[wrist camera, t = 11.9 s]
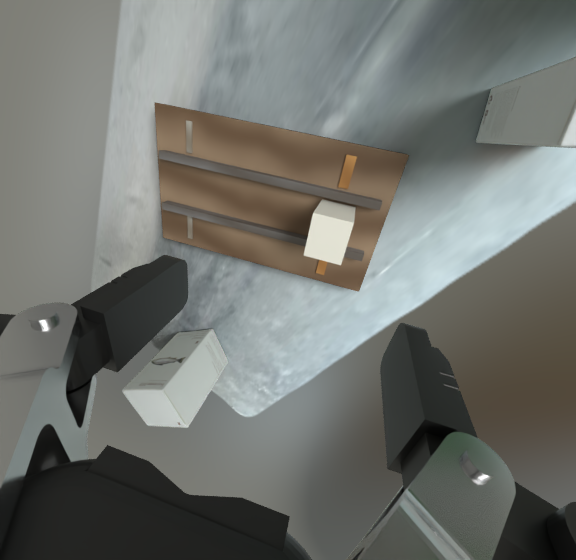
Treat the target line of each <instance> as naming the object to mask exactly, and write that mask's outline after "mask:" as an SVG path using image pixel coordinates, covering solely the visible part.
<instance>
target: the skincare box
mask: <svg viewBox="0 0 576 560" xmlns="http://www.w3.org/2000/svg"><path fill="white" fill-rule="evenodd" d="M476 143H488V144H507V145H526V146H546V147H568V148H576V57H574V58H571V59H569V60H566V61H564V62H561V63H558V64H556V65H553V66H550V67H547V68H545V69H542V70H540V71H537V72H534V73H531V74H529V75H526V76H523V77H520V78H518V79H515V80H512V81H509V82H506V83H504V84H501V85H499V86H496V87H493V88H492V89H491V91H490V95H489V98H488V102H487V105H486V108H485V112H484V115H483V119H482V122H481V125H480V129H479V132H478V135H477V138H476Z"/></svg>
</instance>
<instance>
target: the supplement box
mask: <svg viewBox="0 0 576 560" xmlns="http://www.w3.org/2000/svg"><path fill="white" fill-rule="evenodd" d="M227 363H228V360H227V357H226V355H225V353H224V351H223V349H222V347H221V345H220V343H219V341H218V338H217V336H216V334H215V332H214V330H213V329H208V330H201V331H190V332H178V333H177V334H176V335H175V336H174V337H173V338H172V339H171V340H170V341H169V342H168V343H167V344H166V345H165V346H164V347H163V348H162V349H161V350H160V351H159V353H158V354H157V355H156V356H155V357H154V358H153V359H152V360H151V361H150V362H149V363H148V364H147V365H146V366H145V367H144V368H143V369H142V370H141V371H140V372H139V373H138V374H137V375H136V376H135V378H133V379H132V380H131V381H130V383H129V384H128V385H127V386H126V387H125V388H124V389H123V390H122V391H123V393H124V394H125V396H126V397H127V399H128V400H129V401H130V403H131V404H132V405H133V407H134V408H135V410H136V411H137V412H138V413H139V415H140V416H141V417H142V419H143V420H144V421H145V423H146V424H147V425H148V426H165V427H184V428H188V426H189V425H190V423H191V422H192V420H193V419H194V417H195V415H196V414H197V412H198V410H199V409H200V407H201V406H202V404H203V402H204V401H205V399H206V397H207V396H208V394H209V392H210V391H211V389H212V388H213V386H214V384H215V383H216V381H217V379H218V378H219V376H220V375H221V373H222V371H223V370H224V368H225V366H226V365H227Z"/></svg>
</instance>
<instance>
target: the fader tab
mask: <svg viewBox="0 0 576 560" xmlns="http://www.w3.org/2000/svg"><path fill="white" fill-rule="evenodd" d="M355 209H356V207H353V206H349V205H345V204H341V203H336V202H332V201H328V200H324V199H322V200H321V202H320V203H319V205H318V206H317V208H316V209H315V211H314V212H313V216H312V220H311V225H310V229H309V233H308V238H307V242H306V247H305V251H304V256H308V257H311V258H315V259H319V260H323V261H326V262H330V263H334V264H338V265H341V264H342V260H343V257H344V254H345V251H346V247H347V244H348V241H349V238H350V234H351V231H352V228H353V225H354V219H355Z"/></svg>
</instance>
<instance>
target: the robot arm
mask: <svg viewBox="0 0 576 560" xmlns="http://www.w3.org/2000/svg"><path fill="white" fill-rule="evenodd" d="M187 298H188V274H187V263H186V261H185V260H182V259H178V258H175V257H171V256H168V255H163V256H161V257H159V258H158V259H156V260H155V261H153V262H151V263H150V264H145V265H142V266H138V267H135V268H132V269H131V270H129V271H127V272H126V273H124V274H122V275H121V277H117V278H115V279H114V280H112V281H111V283H107V284H105V285H104V286H102V287H100V288H98V289H97V290H95V291H93V292H92V293H90V294H88V295H87V296H85V297H83V298H82V299H80V300H78V301H76V302H75V303H73V304H71V305H69V304H66V303H46V304H41V305H37V306H34V307H31V308H28V309H26V310H24V311H22V312H20V313H18V314H17V315H8V314H0V560H312V559H311V557H310V556H309V555H308V553H307V552H306V550H305V549H304V548H303V547H302V546H301V545H300V544H299V543H298V542H297V541H296V540H295V539H294V538H293V537H292V536H291V535H290V534H288V533H287V527H288V522H289V516H287V515H284V514H282V513H279V512H277V511H274V510H272V509H269V508H267V507H264V506H261V505H259V504H256V503H254V502H251V501H249V500H246V499H243V498H237V497H236V498H235V497H218V496H198V495H189V494H186V493H184V492H183V491H182V490H181V489H179V488H178V487H177V486H176V485H175V484H174V483H173V482H172V481H170V480H169V479H168V478H167V477H166V476H165V475H164V474H163V473H161V472H160V471H159V470H158V469H157V468H156V467H155V466H153V464H151V463H150V462H149V461H147V460H144V459H141V458H139V457H136V456H134V455H131V454H128V453H126V452H124V451H121V450H118V449H116V448H113V447H111V446H108V445H107V447H106V448H105V449H104V450H103V451H102V452H101V454H100V455H99V456H98V457H97V459H88V450H87V433H88V427H89V422H90V416H91V411H92V405H93V400H94V394H95V389H96V383H97V376H96V373H97V372H98V371H99V370H100V369H101V368H103V367H104V368H106V369H109V370H112V371H115V372H118V371H120V370H121V369H122V368H123V367H124V366H125V365H126V364H127V363H128V362H129V361H130V359H132V358H133V357H134V356H135V355H136V354H137V353H138V352H139V351H140V350H141V349H142V348H143V347H144V346H145V345H146V344H147V343H148V342H149V341H150V340H151V339H152V338H153V337H154V336H155V335H156V334H157V333H158V332H159V331H160V330H162V329H163V328H164V327H165V326H166V325H167V324H168V323H169V322H170V321H171V320H172V319H173V318H174V317H175V316H176V315H177V314H178V313H179V312H180V311H181V310H182V309H183V307H184V306H185V304H186V302H187ZM380 372H381V386H382V399H383V414H384V428H385V441H386V454H387V468H388V469H389V470H392V471H395V472H398V473H401V474H402V479H403V487H402V488H401V489H400V490H399V491H398V493H397V494H396V495H395V497H394V498H393V499H392V501H391V502H390V504H389V505H388V506H387V507H386V509H385V510H384V511H383V513H382V514H381V515H380V517H379V518H378V519H377V521H376V522H375V523H374V525H373V526H372V527H371V529H370V530H369V531H368V533H367V534H366V535H365V537H364V538H363V539H362V540H361V542H360V543H359V544H358V546H357V547H356V548H355V549H354V551H353V552H352V553H351V554H350V556H349V557H348V558H347V559H346V560H576V502H572V503H570V504H568V505H566V506H564V507H563V508H561V509H558V508H556V507H555V506H553V505H552V504H550V503H548V502H547V501H545V500H543V499H542V498H540V497H539V496H537V495H535V494H534V493H532V492H530V491H529V490H527V489H526V488H524V487H522V486H521V485H519V484H518V483H516V482H515V481H514V480H513V477H512V475H511V473H510V471H509V469H508V467H507V466H506V464H505V463H504V462H503V460H502V459H501V458H500V457H499V456H498V454H497V453H496V452H495V451H494V450H493V449H491V448H490V447H489V446H488V445H486V444H485V443H484V442H483V441H481V440H480V439H478V438H477V435H476V432H475V430H474V427H473V424H472V422H471V419H470V416H469V414H468V411H467V408H466V406H465V403H464V400H463V398H462V395H461V392H460V391H458V389H459V387H458V384H457V382H456V379H454V374H453V371H452V368H451V366H450V363H449V362H448V360H447V359H446V358H445V356H444V355H443V354H442V353H441V352H440V350H439V349H438V348H434V347H431V344H430V341H429V338H428V334H427V332H426V330H425V329H422V328H419V327H415V326H411V325H408V324H405V323H401V324H400V325H399V326H398V328H397V329H396V332H395V333H394V336H393V337H392V339H391V341H390V343H389V345H388V347H387V349H386V351H385V353H384V356H383V358H382V362H381V371H380Z"/></svg>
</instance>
